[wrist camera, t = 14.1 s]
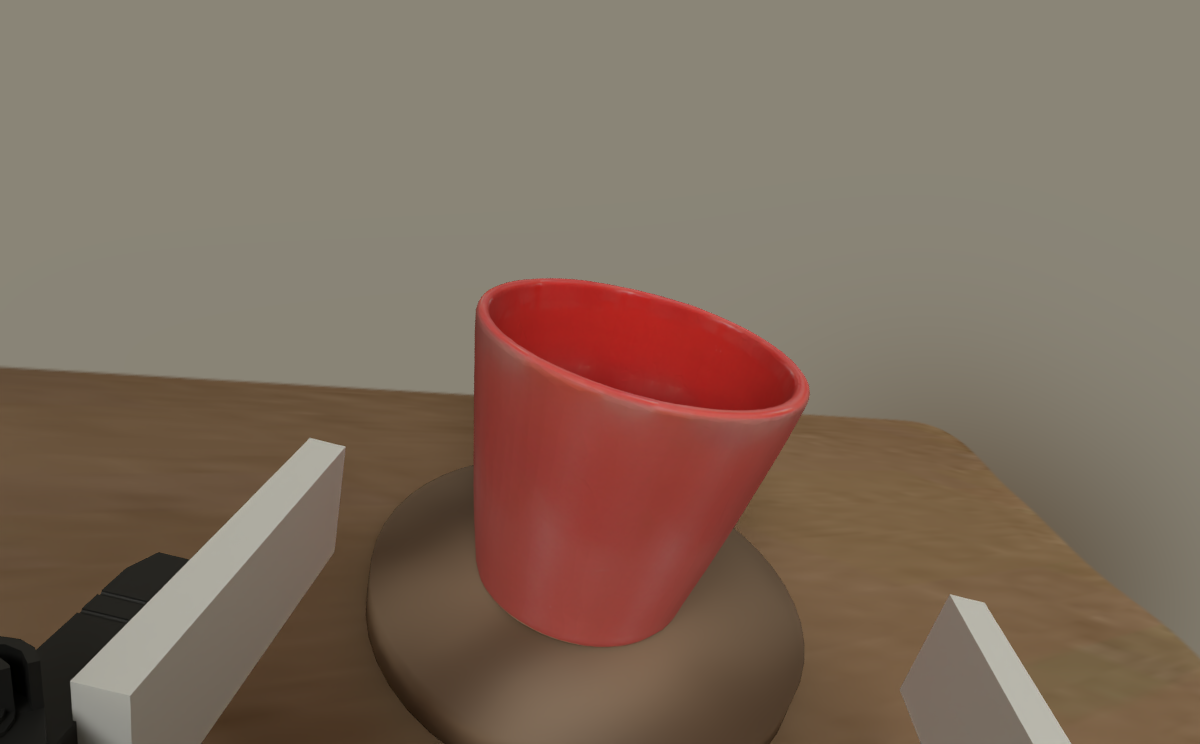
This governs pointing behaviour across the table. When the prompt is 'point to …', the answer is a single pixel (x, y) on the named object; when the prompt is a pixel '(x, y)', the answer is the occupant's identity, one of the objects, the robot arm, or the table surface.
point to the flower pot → (614, 451)
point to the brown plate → (572, 646)
